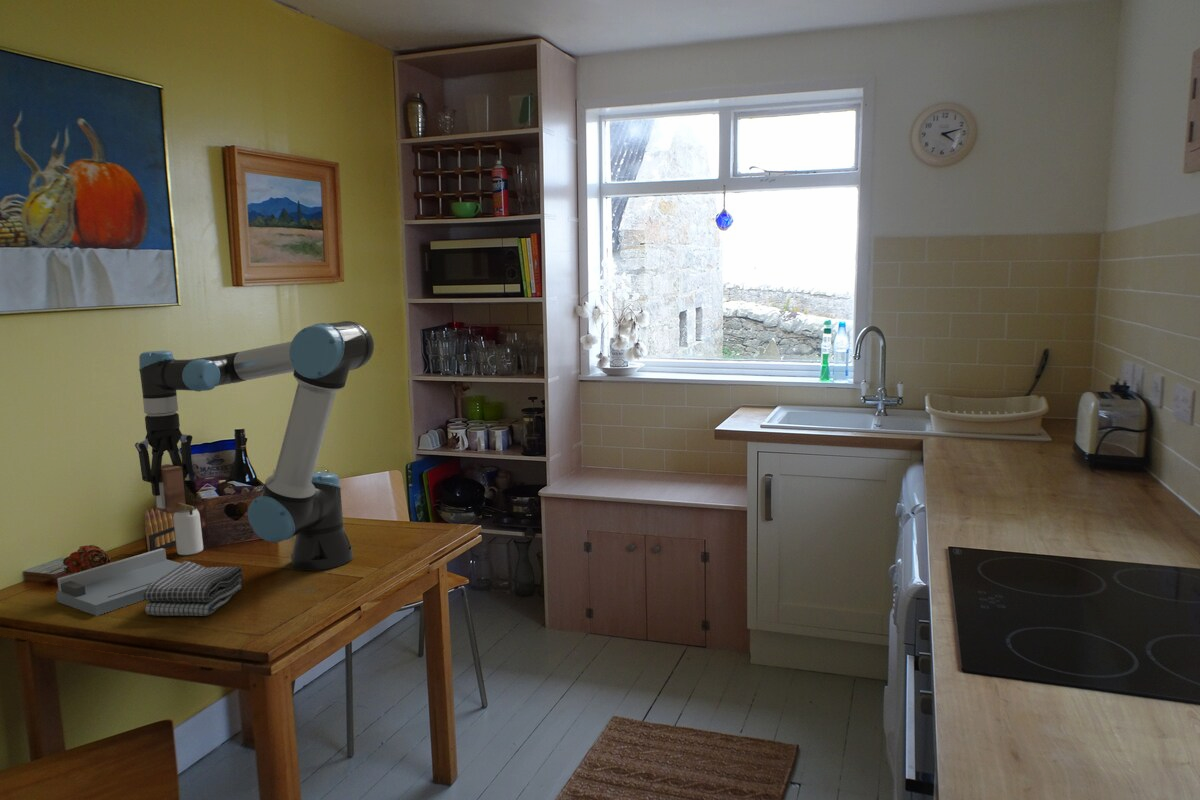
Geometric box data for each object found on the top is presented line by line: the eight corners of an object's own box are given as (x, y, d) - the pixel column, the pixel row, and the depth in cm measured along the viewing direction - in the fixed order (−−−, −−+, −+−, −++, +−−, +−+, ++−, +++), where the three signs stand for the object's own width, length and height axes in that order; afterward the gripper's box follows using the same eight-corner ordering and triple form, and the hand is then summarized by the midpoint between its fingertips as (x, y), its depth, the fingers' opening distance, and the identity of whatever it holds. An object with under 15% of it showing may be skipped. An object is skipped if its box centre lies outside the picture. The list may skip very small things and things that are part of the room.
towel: (143, 620, 188) (138, 586, 187) (186, 590, 207) (183, 558, 205) (211, 619, 188) (207, 584, 187) (248, 588, 206) (245, 556, 205)
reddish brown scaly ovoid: (111, 583, 218) (69, 589, 220) (124, 555, 224) (83, 561, 226) (89, 563, 212) (47, 570, 214) (104, 535, 218) (62, 542, 220)
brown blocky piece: (200, 513, 213) (196, 470, 212) (184, 517, 210) (180, 473, 209) (171, 506, 221) (167, 463, 220) (156, 509, 218) (151, 467, 217)
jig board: (206, 579, 213) (203, 557, 212) (97, 616, 191) (93, 592, 191) (165, 568, 223) (163, 547, 222) (57, 601, 201) (54, 579, 200)
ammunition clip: (151, 553, 235) (146, 511, 234) (146, 553, 236) (141, 510, 234) (182, 542, 245) (177, 500, 244) (177, 541, 246) (172, 500, 244)
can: (207, 551, 236) (202, 508, 234) (183, 557, 231) (178, 513, 229) (197, 546, 240) (193, 504, 238) (173, 552, 235) (168, 510, 234)
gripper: (187, 407, 223) (195, 496, 227) (118, 417, 209) (128, 511, 213) (202, 409, 219) (211, 499, 222) (133, 420, 205) (143, 515, 209)
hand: (170, 505), depth 218 cm, fingers closed on brown blocky piece, 4 cm apart
